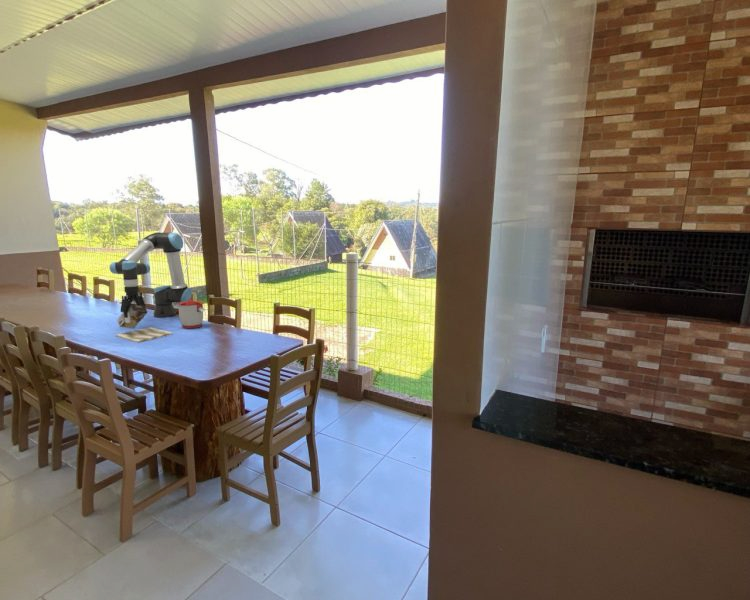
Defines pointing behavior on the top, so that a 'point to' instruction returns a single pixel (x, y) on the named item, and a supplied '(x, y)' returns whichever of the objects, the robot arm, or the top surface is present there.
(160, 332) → the striped cloth
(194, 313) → the citrus juicer
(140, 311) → the coffee box
